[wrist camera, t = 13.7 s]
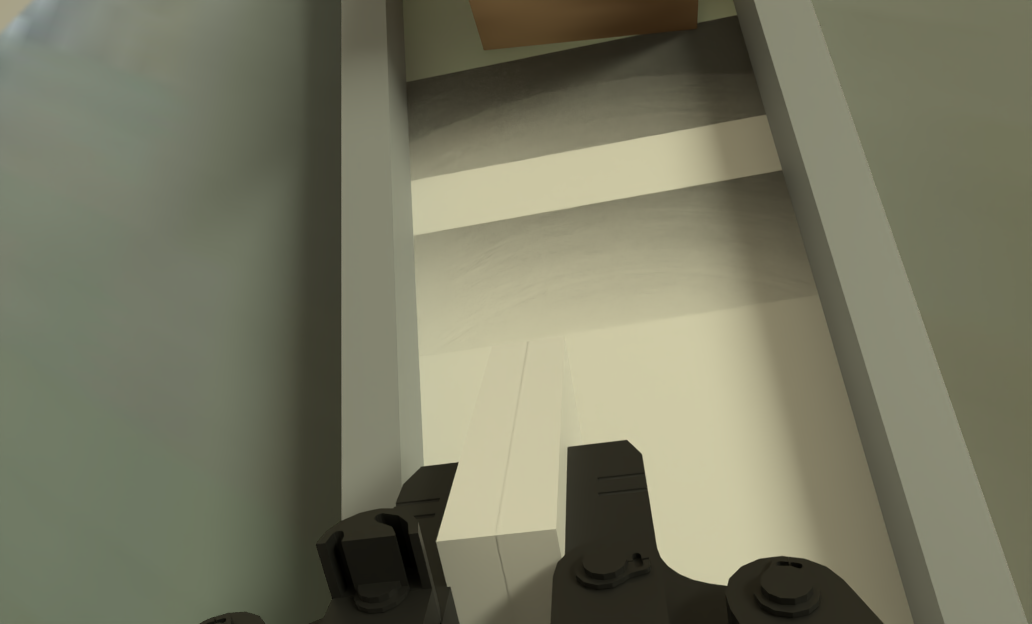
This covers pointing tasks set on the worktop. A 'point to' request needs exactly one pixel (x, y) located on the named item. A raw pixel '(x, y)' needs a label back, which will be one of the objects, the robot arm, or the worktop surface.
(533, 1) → the walnut block
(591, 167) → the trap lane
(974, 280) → the worktop surface
